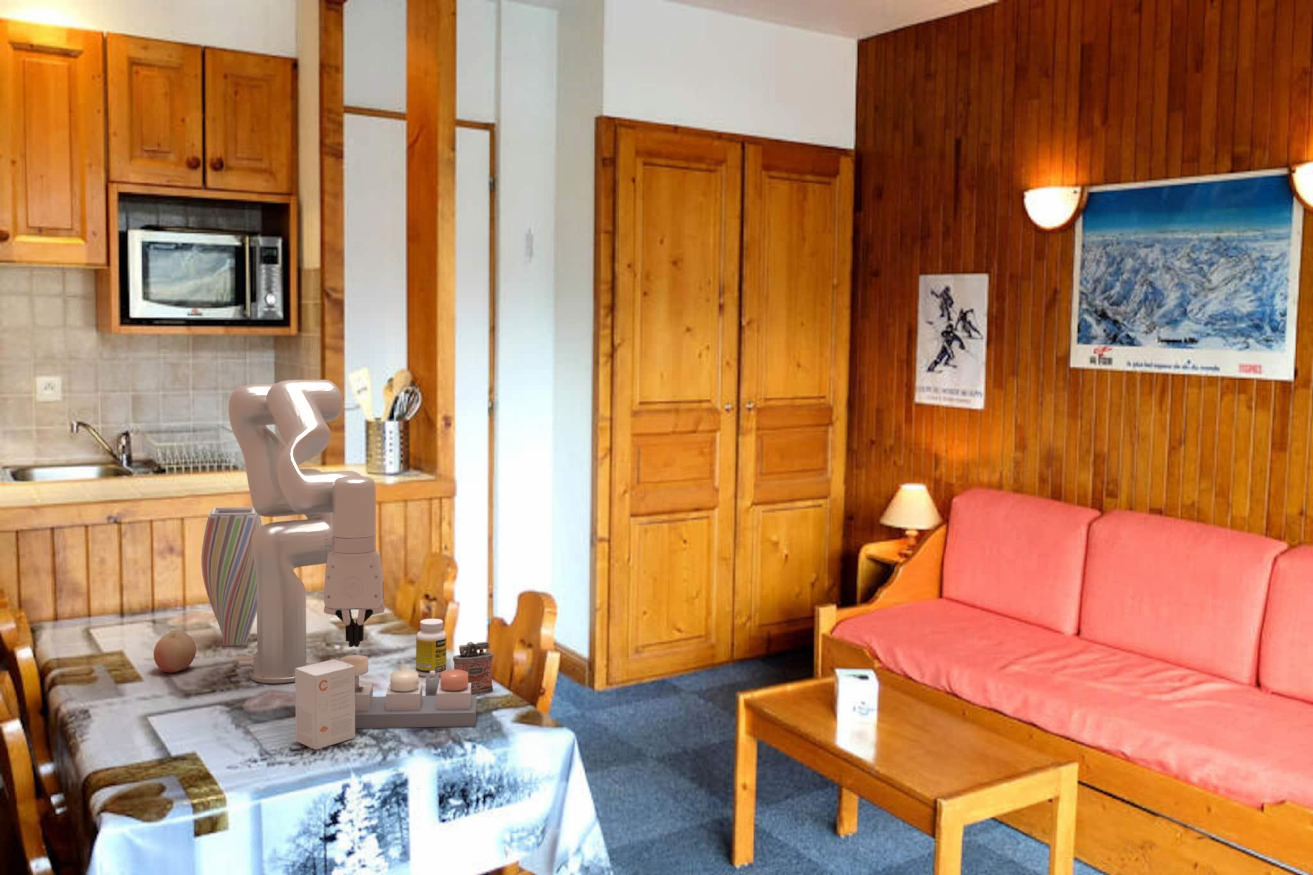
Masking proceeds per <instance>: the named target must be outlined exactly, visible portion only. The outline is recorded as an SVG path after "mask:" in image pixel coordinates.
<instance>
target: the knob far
mask: <svg viewBox="0 0 1313 875" xmlns="http://www.w3.org/2000/svg"><path fill="white" fill-rule="evenodd" d="M439 683H440V687H441V688H442V689H444V690H449V691H459V690H462V689H465V688H467V687H468V672H467V671H464V670H454V669H446V671H443V672H441V675H440V679H439Z"/></svg>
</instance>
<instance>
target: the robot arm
mask: <svg viewBox="0 0 1313 875" xmlns="http://www.w3.org/2000/svg"><path fill="white" fill-rule="evenodd" d="M343 399H344V398H343V394H342V393H341V390H340V388H339V387H338V385H336V384H335V383H334V382H332V381H331V380H329V379H287V380H282V381H278V382H277V383H253V384H251V383H250V384H247V385H242V386H240V387H238V388H236V389H234V390H233V392H231V395H230V397H229V399H228V400H229V401H228V410H227V411H228V419H229V424H230V427H231V430H232V433H233V436H234V437H235V439H236V441H237V444H238V446H239V447H240V450H241V453H242V456H243V457H242V458H243V460H244V466H245V472H246V478H247V479H246V480H247V484H248V490H249V496H250V502H251V504H252V505H251V506H252V507H253V508H254V510H255V511H256V513H257V514H258V515H260V517H266V518H275V517H277V518H278V517H288V516H289V517H290V516H300V515H303V516H305V517H306V519H298V520H296V519H295V520H293V519H292V520H284V521H283V520H281V521H274V522H269V523H265V524H262V526H261V527H259V528H258V529H257V530H256V531H255V532H254V534H253V536H252V539H251V547H252V554H253V559H254V565H255V572H256V584H257V613H256V634H257V635H256V646H257V648H256V651H257V652H256V653H251V655H246V654H244V655H243V654H238V655H237V654H236V655H235V659H234V660H235V662H234V663H235V665H238V667H239V668H242V667H243V668H246V667H250V670H249V671H248V673H249V674H248V676H249V679H250V680H252V681H254V682H257V683H261V684H262V683H263V684H288V683H295V668H299V667H303V666H307V665H312V664H311V663H310V662H307V592H306V591H307V590H306V586H305V584H304V582H303V581H302V579H301V578H300V577H299V576H298V575H297V574H296V572H295V570H294V569H296V568H301V567H309V566H318V565H325V572H324V587H323V588H324V590H323V591H324V592H323V604H324V607H323V613H324V614H327V615H331V616H336V617H337V618H338V619H339V620H340V621H341V622H343V624H344V625H345V642H348V647H349V648H353V647H355V648H359V646H360V644H361V642H364V636H365V635H364V632H365V630H364V626H365V625H364V624H365V622H366V621H368V619H369V618H370V617H371V616H374V615H375V616H376V615H379V614H383V613H384V612H385V610H386V606H385V603H384V602H385V601H384V594H385V593H384V588H385V587H384V572H383V564H382V559H381V553H380V551H379V550H376V549H377V546H376V545H377V540H376V538H377V536H376V534H377V530H376V529H377V528H376V526H377V525H376V524H377V522H376V521H377V515H376V514H377V513H376V512H377V511H376V509H377V506H376V505H377V504H376V503H377V500H376V499H377V498H376V496H377V492H376V491H377V490H376V489H377V486H376V482H375V481H374V479H373V478H371V477H369V476H362V474H360V473H359V472H357V471H353V470H340V471H338V470H337V471H321V470H319V469H316V468H300V467H299V466H300V465H301V464H303V463H305V462H307V461H309V460H311V459H313V458H315V457H316V456H318V455H320V454H321V453H322V452H324V451H325V450H326V448H327V447H328V446H329V445H330V442H331V439H332V434H331V433H332V432H331V429H330V427H329V425H328V424H327V423H329V422H330V423H331V422H334V421H335V420H337V419H339V417H341V415H342V412H343V410H344V409H343V408H344V400H343ZM270 425H275V426H276V428H277V429H278V432H279V434H280V435H281V437H282V439H283V441H284V443H283V441H282V440H281V439H280V438H279V436H277V435H276V434H275V433H274V432H273V431H272V430H270V429H269V428H268V427H267V426H270ZM352 610H353V611H354V610H358V612H357V618H356V621H355V619H354V618H353V615H352V614H353V613H352Z"/></svg>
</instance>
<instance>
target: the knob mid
mask: <svg viewBox="0 0 1313 875" xmlns="http://www.w3.org/2000/svg"><path fill="white" fill-rule="evenodd" d="M389 676H390V683H389V684H390V688H391V689H392V690H395V691H399V692H400V691H411V690H415V689H417V688H418V684H419V675H418V672H416V670H410V669H404V670H403V669H401V670H396V671H393V672H391V673H390V675H389Z"/></svg>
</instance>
